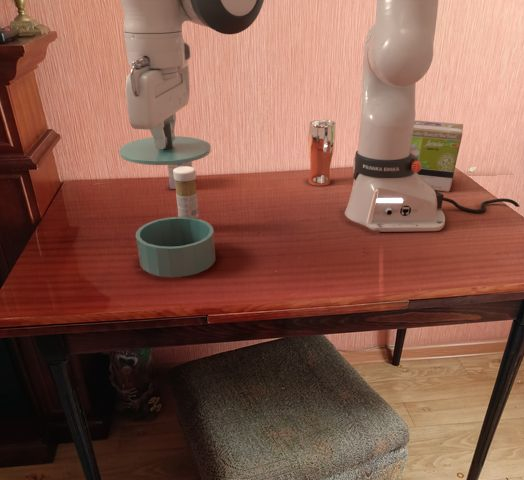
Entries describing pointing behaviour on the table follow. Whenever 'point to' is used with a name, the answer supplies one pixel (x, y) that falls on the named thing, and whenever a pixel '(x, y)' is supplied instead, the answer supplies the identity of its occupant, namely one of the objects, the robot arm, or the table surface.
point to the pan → (177, 257)
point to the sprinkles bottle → (186, 192)
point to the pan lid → (165, 150)
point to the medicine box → (170, 172)
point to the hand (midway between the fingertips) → (165, 144)
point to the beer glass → (321, 151)
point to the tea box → (436, 151)
